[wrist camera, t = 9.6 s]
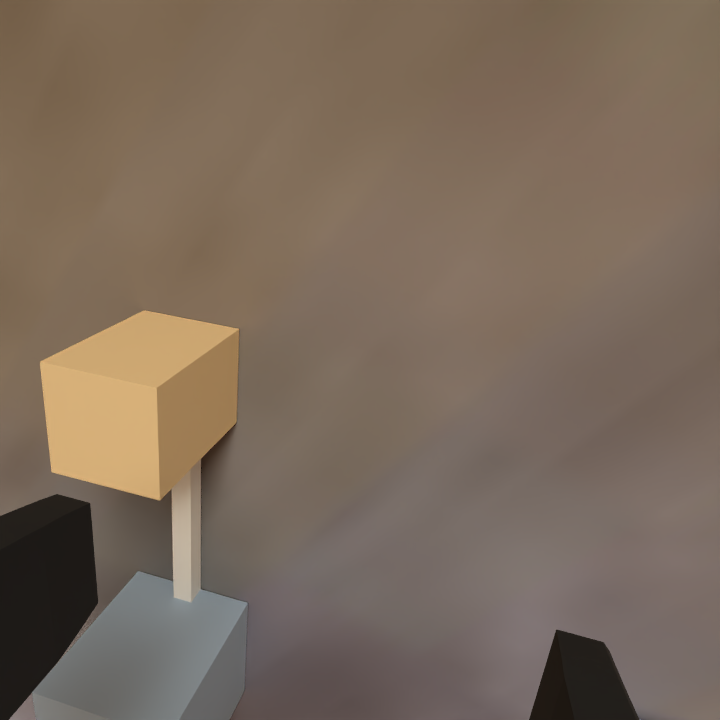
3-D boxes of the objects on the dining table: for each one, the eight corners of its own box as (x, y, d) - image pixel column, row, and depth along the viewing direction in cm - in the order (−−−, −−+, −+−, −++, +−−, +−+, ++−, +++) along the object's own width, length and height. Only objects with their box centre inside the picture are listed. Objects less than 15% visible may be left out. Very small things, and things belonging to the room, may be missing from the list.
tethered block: (259, 332, 19) (157, 411, 14) (244, 690, 24) (170, 836, 19) (125, 306, 19) (-16, 371, 14) (142, 657, 25) (46, 789, 20)
